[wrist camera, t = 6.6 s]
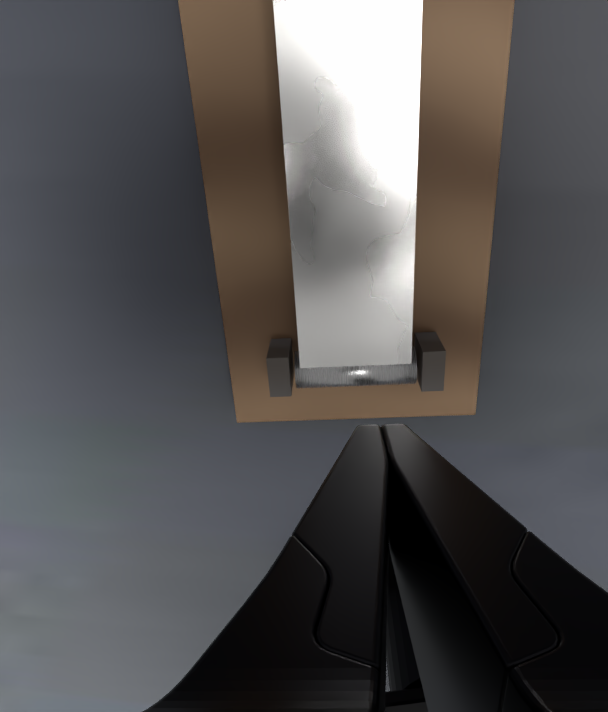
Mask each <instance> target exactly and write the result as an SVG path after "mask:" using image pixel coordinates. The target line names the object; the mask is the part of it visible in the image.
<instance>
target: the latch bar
mask: <svg viewBox="0 0 608 712" xmlns="http://www.w3.org/2000/svg"><path fill="white" fill-rule="evenodd" d="M422 2H423V0H273V8H274V21H275V35H276V49H277V62H278V76H279V89H280V103H281V116H282V130H283V144H284V157H285V171H286V184H287V198H288V211H289V225H290V238H291V252H292V266H293V279H294V293H295V306H296V320H297V333H298V347H299V351H295V358H294V365H295V382H296V388H321V387H348V386H375V385H402V384H416V381H417V357H416V351H415V348H414V346H412V328H413V295H414V263H415V230H416V197H417V165H418V132H419V100H420V67H421V34H422Z"/></svg>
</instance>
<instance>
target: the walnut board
mask: <svg viewBox="0 0 608 712" xmlns="http://www.w3.org/2000/svg"><path fill="white" fill-rule="evenodd" d="M514 1H515V0H423V2H422V34H421V67H420V100H419V132H418V165H417V197H416V230H415V263H414V295H413V328H412V346H414V348H415V351H416V357H417V381H416V384H402V385H375V386H348V387H321V388H296V382H295V365H294V358H295V351H299V347H298V333H297V320H296V306H295V293H294V279H293V266H292V252H291V238H290V225H289V211H288V198H287V184H286V171H285V157H284V144H283V130H282V116H281V103H280V89H279V76H278V62H277V49H276V35H275V21H274V8H273V0H178V3H179V10H180V17H181V25H182V32H183V39H184V46H185V53H186V60H187V68H188V75H189V82H190V89H191V96H192V103H193V110H194V118H195V125H196V132H197V139H198V146H199V153H200V161H201V168H202V175H203V182H204V189H205V196H206V203H207V211H208V218H209V225H210V232H211V239H212V246H213V254H214V261H215V268H216V275H217V282H218V289H219V296H220V304H221V311H222V318H223V325H224V332H225V339H226V347H227V354H228V361H229V368H230V375H231V382H232V389H233V397H234V404H235V411H236V418H237V423H239V422H269V421H299V420H329V419H358V418H388V417H418V416H448V415H475V413H476V403H477V392H478V382H479V371H480V361H481V350H482V339H483V329H484V318H485V308H486V297H487V287H488V276H489V266H490V255H491V244H492V234H493V223H494V213H495V202H496V192H497V181H498V170H499V160H500V149H501V139H502V128H503V118H504V107H505V97H506V86H507V75H508V65H509V54H510V44H511V33H512V23H513V12H514Z"/></svg>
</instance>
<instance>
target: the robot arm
mask: <svg viewBox="0 0 608 712" xmlns="http://www.w3.org/2000/svg"><path fill="white" fill-rule="evenodd" d="M386 659H387V667H388V676H389V685H390V691H389V692H385V686H386ZM143 712H608V592H606V591H605V590H603V589H602V588H601V587H599V586H598V585H597V584H595V583H594V582H593V581H591V580H590V579H589V578H587V577H586V576H585V575H583V574H582V573H580V572H579V571H578V570H577V569H575V568H574V567H573V566H572V565H570V564H569V563H568V562H567V561H565V560H564V559H563V558H562V557H560V556H559V555H558V554H557V553H556V552H554V551H553V550H552V549H551V548H549V547H548V546H547V545H546V544H545V543H543V542H542V541H541V540H540V539H539V538H538V537H536V536H535V535H534V534H533V533H532V532H527V528H526V527H524V526H523V525H522V524H521V523H520V522H519V521H517V520H516V519H515V518H514V517H513V516H511V515H510V514H509V513H508V512H507V511H506V510H504V509H503V508H502V507H501V506H500V505H499V504H497V503H496V502H495V501H494V500H493V499H492V498H490V497H489V496H488V495H487V494H486V493H484V492H483V491H482V490H481V489H480V488H479V487H477V486H476V485H475V484H474V483H473V482H472V481H470V480H469V479H468V478H467V477H466V476H465V475H463V474H462V473H461V472H460V471H459V470H457V469H456V468H455V467H454V466H453V465H452V464H450V463H449V462H448V461H447V460H446V459H445V458H443V457H442V456H441V455H440V454H439V453H438V452H436V451H435V450H434V449H433V448H432V447H430V446H429V445H428V444H427V443H426V442H425V441H423V440H422V439H421V438H420V437H419V436H418V435H416V434H415V433H414V432H413V431H412V430H411V429H409V428H408V427H407V426H406V425H404V424H385V425H383V426H382V427H380V426H379V425H359V426H357V427H356V429H355V430H354V432H353V434H352V435H351V437H350V439H349V440H348V442H347V444H346V445H345V447H344V449H343V450H342V452H341V454H340V455H339V457H338V459H337V460H336V462H335V464H334V465H333V467H332V469H331V470H330V472H329V474H328V475H327V477H326V479H325V480H324V482H323V484H322V485H321V487H320V489H319V490H318V492H317V493H316V495H315V497H314V498H313V500H312V502H311V503H310V505H309V507H308V508H307V510H306V512H305V513H304V515H303V517H302V518H301V520H300V522H299V523H298V525H297V527H296V528H295V530H294V532H293V533H292V536H291V537H290V538H289V540H288V541H287V543H286V545H285V546H284V548H283V550H282V551H281V553H280V554H279V556H278V557H277V559H276V561H275V562H274V564H273V565H272V567H271V568H270V570H269V571H268V573H267V574H266V576H265V577H264V578H263V580H262V581H261V582H260V584H259V585H258V586H257V588H256V589H255V590H254V591H253V593H252V594H251V595H250V597H249V598H248V599H247V601H246V602H245V603H244V604H243V606H242V607H241V608H240V609H239V611H238V612H237V613H236V614H235V615H234V617H233V618H232V619H231V620H230V622H229V623H228V624H227V625H226V626H225V628H224V629H223V630H222V631H221V633H220V634H219V635H218V636H217V638H216V639H215V640H214V641H213V642H212V644H211V645H210V646H209V647H208V649H207V650H206V651H205V652H204V654H203V655H202V656H201V657H200V658H199V660H198V661H197V662H196V663H195V665H194V666H193V667H192V668H191V669H190V671H189V672H188V673H187V674H186V675H185V677H184V678H183V679H182V680H181V681H180V682H179V683H178V684H177V685H176V686H175V687H174V688H173V689H172V690H171V691H170V692H169V693H168V694H167V695H165V696H164V697H163V698H162V699H161V700H159V701H158V702H157V703H155V704H154V705H153V706H151V707H150V708H148V709H146V710H145V711H143Z"/></svg>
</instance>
